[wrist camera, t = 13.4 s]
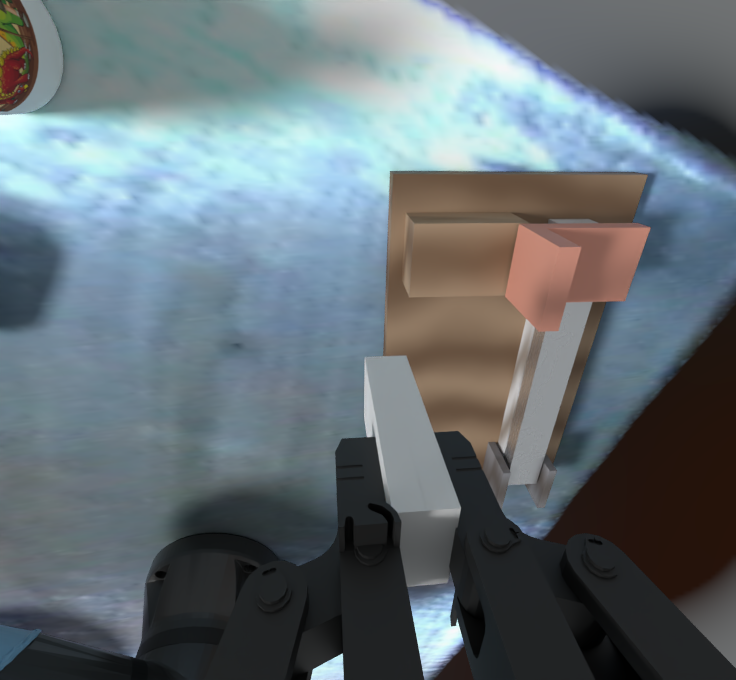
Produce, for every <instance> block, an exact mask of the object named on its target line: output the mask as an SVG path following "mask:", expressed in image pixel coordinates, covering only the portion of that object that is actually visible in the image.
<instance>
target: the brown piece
mask: <svg viewBox="0 0 736 680" xmlns="http://www.w3.org/2000/svg"><path fill="white" fill-rule="evenodd" d="M647 176H648V175H646V174H641V173H635V172H458V171H390V189H389V216H388V243H387V270H386V297H385V324H384V351H383V356H405V355H406V356H407V359H408V362H409V365H410V367H411V370H412V373H413V376H414V379H415V381H416V384H417V387H418V390H419V392H420V395H421V398H422V401H423V404H424V406H425V409H426V412H427V415H428V418H429V420H430V423H431V426H432V429H433V431H434V432H448V431H459V432H460V433H461V434H462V435H463V436H464V437H465V438H466V439H467V440H468V441H469V442H470V443H471V445H472V447H473V449H474V451H475V454H476V456H477V459H478V460H479V462H480V464H481V467H482V470H483V471H484V473H485V475H486V477H487V480H488V482H489V484H490V486H491V488H492V490H493V493H494V495H495V497H496V499H497V501H498V503H499V506H500V508H501V509H502V506H503V502H504V498H505V494H506V490H507V487H508V483H509V479H510V475H511V472H510V470H509V468H508V466H507V464H506V462H505V460H504V454H505V450H506V446H507V442H508V438H509V434H510V430H511V426H512V421H513V417H514V413H515V409H516V405H517V401H518V397H519V393H520V388H521V384H522V380H523V376H524V372H525V368H526V364H527V359H528V355H529V351H530V347H531V343H532V339H533V335H534V331H535V327H534V326H533V325H532V324H531V323H530V322H529V321H528V320H527V319H526V318H525V317H524V316H523V315H522V314H521V313H520V312H519V311H518V310H517V309H516V308H515V306H514V305H513V304H512V303H511V302H510V301H509V300H508V299H507V298H506V297H505V294H506V289H507V284H508V279H509V273H510V268H511V263H512V258H513V253H514V248H515V242H516V237H517V232H518V227H519V224H561V223H632V222H633V219H634V216H635V213H636V210H637V207H638V204H639V201H640V197H641V194H642V191H643V188H644V185H645V182H646V179H647ZM605 304H606V302H592V305H591V309H590V312H589V315H588V318H587V322H586V325H585V328H584V331H583V334H582V338H581V341H580V344H579V347H578V351H577V354H576V357H575V360H574V364H573V367H572V370H571V373H570V376H569V380H568V383H567V386H566V389H565V393H564V396H563V399H562V402H561V406H560V409H559V412H558V415H557V419H556V422H555V425H554V428H553V431H552V435H551V438H550V441H549V444H548V448H547V451H546V454H545V457H544V461H543V464H542V467H541V470H540V473H539V477H538V480H537V483H536V484H525V485H526V487H527V489H528V491H529V493H530V495H531V497H532V499H533V500H534V502H535V504H536V506H537V508H544V507H545V504H546V501H547V499H548V496H549V493H550V490H551V487H552V484H553V481H554V478H555V475H556V472H557V470H556V468H555V467H554V465H553V462H554V459H555V456H556V453H557V450H558V447H559V444H560V441H561V438H562V435H563V432H564V429H565V426H566V423H567V420H568V417H569V414H570V411H571V408H572V405H573V401H574V398H575V395H576V392H577V389H578V386H579V383H580V380H581V377H582V374H583V371H584V368H585V365H586V362H587V359H588V356H589V353H590V350H591V347H592V344H593V341H594V338H595V334H596V331H597V328H598V325H599V322H600V319H601V316H602V313H603V310H604V307H605Z"/></svg>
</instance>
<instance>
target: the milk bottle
mask: <svg viewBox="0 0 736 680" xmlns="http://www.w3.org/2000/svg"><path fill="white" fill-rule="evenodd" d="M63 61H64V57H63V52H62V44H61V41H60V38H59V35H58V32H57V28H56V26H55V24H54V22H53V20H52V18H51V16H50V14H49V12H48V10H47V9H46V7H45V6H44V4H43V2H42V1H41V0H0V115H9V114H24V113H29V112H32V111H35V110H37V109H39V108H41V107H43V106H44V105H46V104H47V103H48V102H49V101H50V100H51V99H52V97H53V96H54V95H55V93H56V91H57V89H58V87H59V85H60V83H61V78H62V74H63Z"/></svg>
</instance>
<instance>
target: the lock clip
mask: <svg viewBox="0 0 736 680" xmlns="http://www.w3.org/2000/svg"><path fill="white" fill-rule="evenodd" d="M650 228H651V227H648V226H645V225H642V224H639V223H561V224H519V227H518V232H517V237H516V242H515V248H514V253H513V258H512V263H511V268H510V273H509V279H508V284H507V289H506V294H505V297H506V298H507V299H508V300H509V301H510V302H511V303H512V304H513V305H514V306H515V308H516V309H517V310H518V311H519V312H520V313H521V314H522V315H523V316H524V317H525V318H526V319H527V320H528V321H529V322H530V323H531V324H532V325H533V326H534V327H535V328H536V329H537V330H538V331H539V332H545V331H559V327H560V324H561V320H562V316H563V313H564V309H565V305H566V302H608V301H625V299H626V296H627V294H628V291H629V288H630V285H631V282H632V279H633V277H634V274H635V271H636V268H637V265H638V262H639V260H640V257H641V254H642V251H643V248H644V245H645V243H646V240H647V237H648V234H649V231H650Z"/></svg>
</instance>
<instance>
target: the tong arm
mask: <svg viewBox="0 0 736 680" xmlns="http://www.w3.org/2000/svg"><path fill="white" fill-rule="evenodd" d="M591 305H592V302H566V305H565V309H564V313H563V316H562V320H561V324H560V327H559V331H545V332H539V331H538V330H537V329H536V328H535V331H534V335H533V339H532V343H531V347H530V351H529V355H528V359H527V364H526V368H525V372H524V376H523V380H522V384H521V388H520V393H519V397H518V401H517V405H516V409H515V413H514V417H513V421H512V426H511V430H510V434H509V438H508V442H507V446H506V450H505V454H504V460H505V462H506V464H507V466H508V468H509V470H510V472H511V475H510V479H509V483H508V485H519V484H536V483H537V480H538V477H539V473H540V470H541V467H542V464H543V461H544V457H545V454H546V451H547V448H548V444H549V441H550V438H551V435H552V431H553V428H554V425H555V422H556V419H557V415H558V412H559V409H560V406H561V402H562V399H563V396H564V393H565V389H566V386H567V383H568V380H569V376H570V373H571V370H572V367H573V364H574V360H575V357H576V354H577V351H578V347H579V344H580V341H581V338H582V334H583V331H584V328H585V325H586V322H587V318H588V315H589V312H590V309H591Z"/></svg>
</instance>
